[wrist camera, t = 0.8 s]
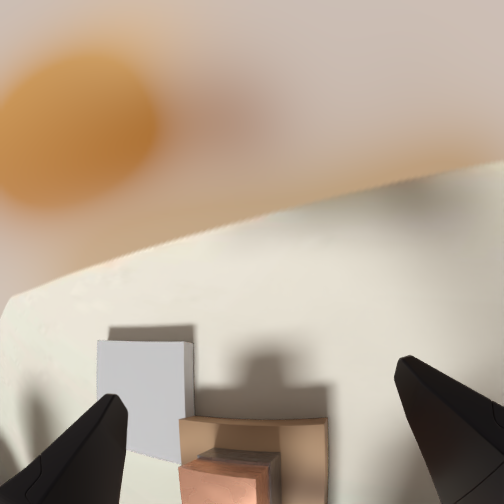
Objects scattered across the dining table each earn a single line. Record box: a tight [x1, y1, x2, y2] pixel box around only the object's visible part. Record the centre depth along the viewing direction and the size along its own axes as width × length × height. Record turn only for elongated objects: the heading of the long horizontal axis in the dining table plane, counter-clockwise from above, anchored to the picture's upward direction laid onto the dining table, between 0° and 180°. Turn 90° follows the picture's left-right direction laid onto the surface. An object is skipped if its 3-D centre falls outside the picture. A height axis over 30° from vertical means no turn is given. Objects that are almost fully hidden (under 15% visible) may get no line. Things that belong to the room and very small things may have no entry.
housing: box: [178, 447, 282, 504], centre depth 13 cm, size 7×5×5 cm
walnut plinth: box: [179, 416, 328, 504], centre depth 16 cm, size 11×11×2 cm
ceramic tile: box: [97, 340, 195, 464], centre depth 23 cm, size 11×11×2 cm
